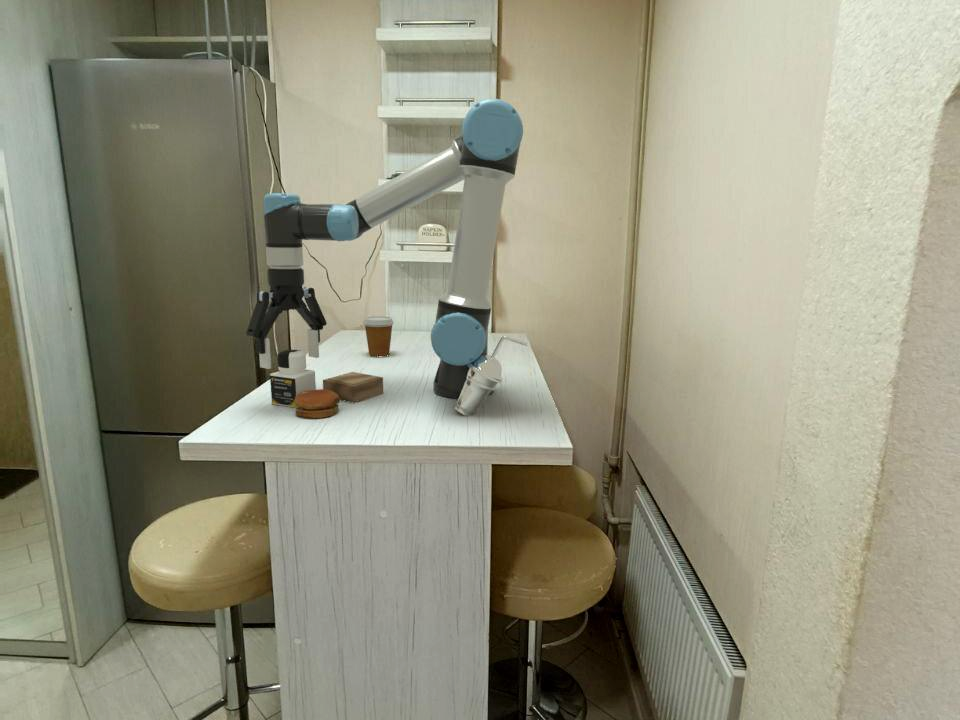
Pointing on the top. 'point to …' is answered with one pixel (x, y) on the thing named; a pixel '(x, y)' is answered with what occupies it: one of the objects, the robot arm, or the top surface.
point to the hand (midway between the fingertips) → (290, 362)
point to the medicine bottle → (291, 378)
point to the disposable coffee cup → (378, 335)
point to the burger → (317, 403)
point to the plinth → (354, 386)
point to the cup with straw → (481, 380)
